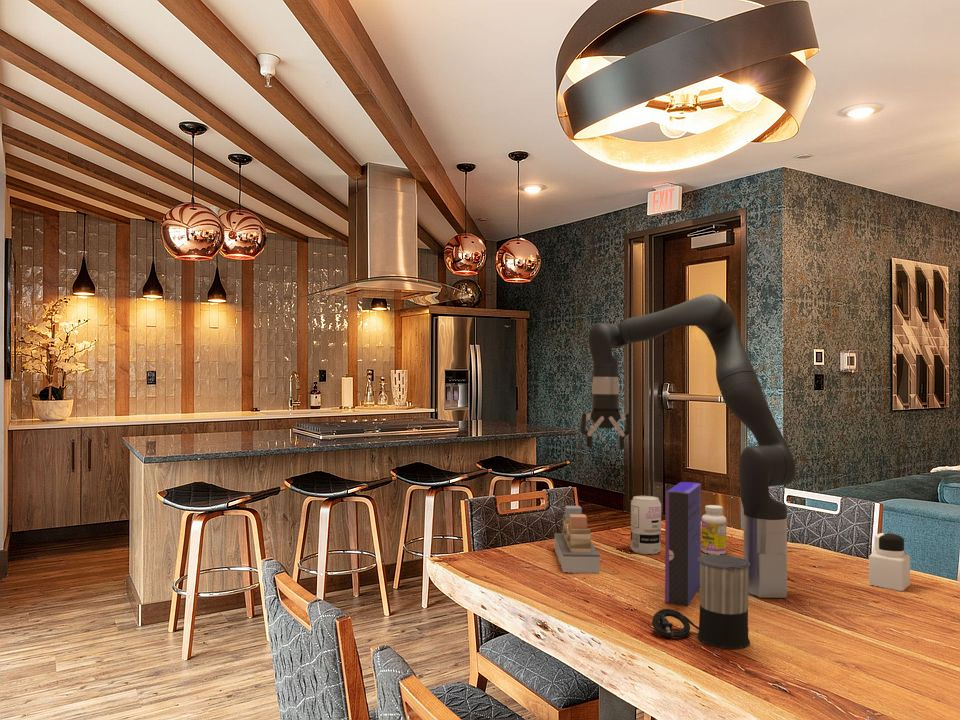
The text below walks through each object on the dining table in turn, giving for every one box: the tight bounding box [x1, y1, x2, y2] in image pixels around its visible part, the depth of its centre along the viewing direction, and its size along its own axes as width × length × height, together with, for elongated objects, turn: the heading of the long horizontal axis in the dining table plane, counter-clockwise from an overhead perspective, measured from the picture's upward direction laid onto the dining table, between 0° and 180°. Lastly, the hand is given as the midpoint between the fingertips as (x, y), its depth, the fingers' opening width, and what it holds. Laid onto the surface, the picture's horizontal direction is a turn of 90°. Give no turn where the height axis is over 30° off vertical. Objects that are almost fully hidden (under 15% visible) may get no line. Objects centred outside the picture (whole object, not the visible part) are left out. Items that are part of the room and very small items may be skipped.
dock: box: [553, 532, 601, 574], centre depth 187 cm, size 24×9×4 cm, turn 179°
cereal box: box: [664, 481, 702, 607], centre depth 159 cm, size 17×5×24 cm, turn 154°
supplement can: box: [630, 495, 662, 555], centre depth 198 cm, size 8×8×15 cm
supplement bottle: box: [701, 504, 727, 555], centre depth 198 cm, size 7×7×13 cm
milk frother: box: [651, 554, 751, 650], centre depth 132 cm, size 14×16×15 cm
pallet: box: [562, 514, 592, 553], centre depth 187 cm, size 20×5×6 cm, turn 179°
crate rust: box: [569, 513, 588, 532], centre depth 181 cm, size 4×4×4 cm
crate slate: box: [564, 505, 583, 519], centre depth 194 cm, size 4×4×4 cm
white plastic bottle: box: [868, 532, 911, 592], centre depth 167 cm, size 7×7×12 cm
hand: (605, 449), depth 202 cm, fingers open, 8 cm apart
